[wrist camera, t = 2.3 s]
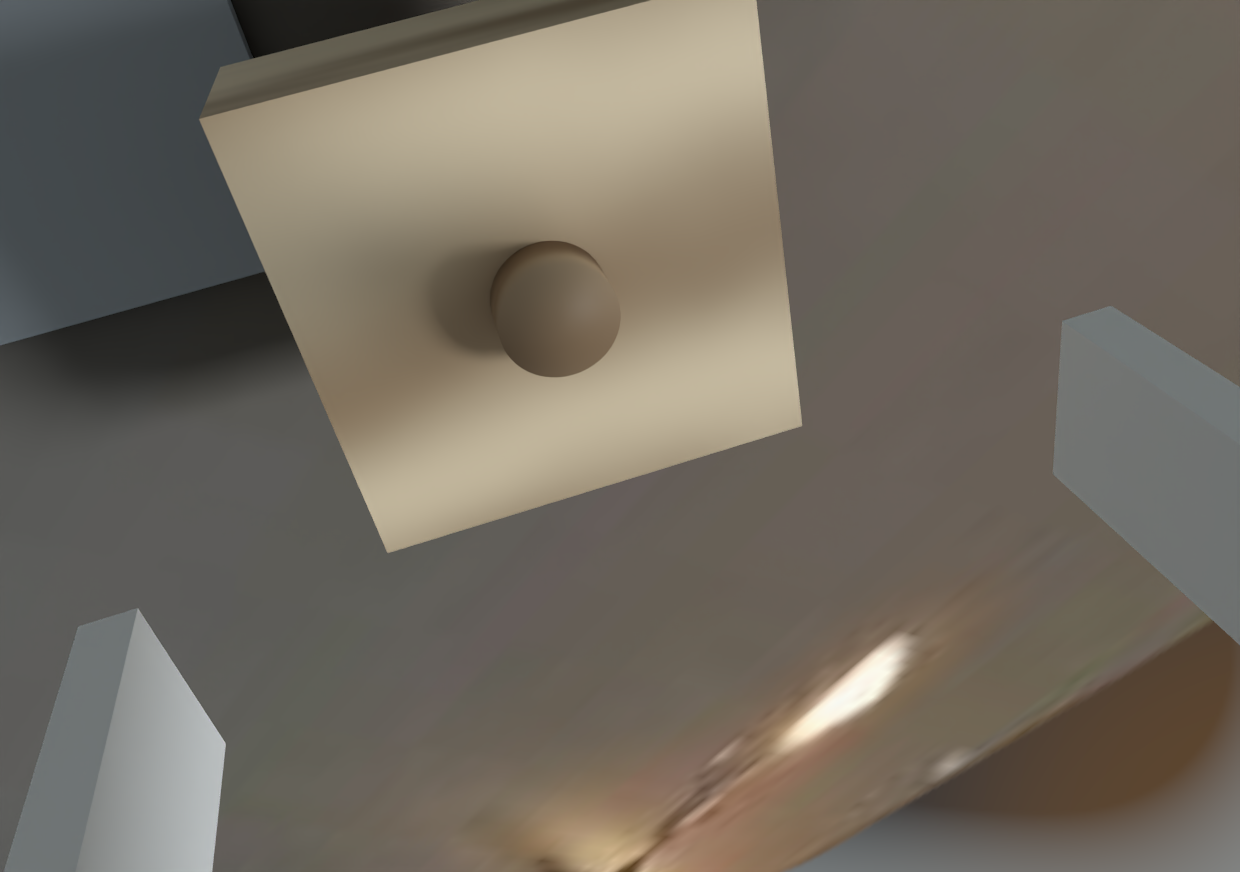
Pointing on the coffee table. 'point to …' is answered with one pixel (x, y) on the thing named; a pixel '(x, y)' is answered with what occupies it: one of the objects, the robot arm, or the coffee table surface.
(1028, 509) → the coffee table surface
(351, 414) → the lid
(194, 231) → the mat
